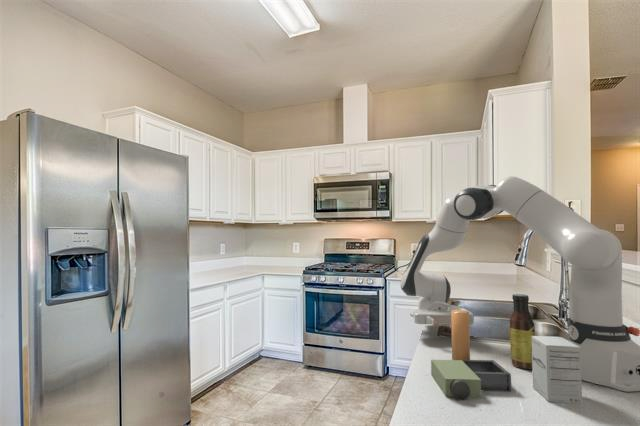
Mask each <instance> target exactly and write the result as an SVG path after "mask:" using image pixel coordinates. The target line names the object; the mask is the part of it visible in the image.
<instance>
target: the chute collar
mask: <svg viewBox="0 0 640 426" xmlns="http://www.w3.org/2000/svg"><path fill="white" fill-rule="evenodd" d="M462 361H463V362H464V363H465V364H466V365H467V366H468V367H469V368H470V369H471V370H472V371H473V372H474V373H475V374H476V375H477V376H478V377H479V378H480V379H481V392H482V391H483V392H484V391H485V392H512V374H511V373H510V372H509V371H508V370H507V369H505V368H504V367H502V365H501V364H499V363H497V361H495V360H493V359H491V360H490V359H470V360H462Z"/></svg>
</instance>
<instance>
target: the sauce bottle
mask: <svg viewBox="0 0 640 426" xmlns="http://www.w3.org/2000/svg"><path fill="white" fill-rule="evenodd" d="M529 297H530V296H529V295H527V294H521V293H513V294H512V301H513V303H512V304H513V312H512V313H511V315H510V316H509V342H510V343H509V345H510V347H509V348H510V359H511V363H512V365H513V366H514V367H516V368H519V369H525V370H532V336H536V330H535V328H536V327H535V323H534V320H533V317H532V314H531V312H530V309H529V299H530V298H529Z"/></svg>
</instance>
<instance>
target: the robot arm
mask: <svg viewBox="0 0 640 426" xmlns="http://www.w3.org/2000/svg"><path fill="white" fill-rule="evenodd" d="M503 212H506V213H507V214H509V215H510V216H511V217H513V218H514V219H516V220H517V221H518V222H519V223H521V224H522V225H524V226H525V227H526V228H528V229H529V230H530V231H532V232H533V233H535V234H536V236H538V237H540V238H541V239H542V240H543V241H544V242H545V243H546V244H547V245H548V246H549V247H551V249H553V251H555V252H556V253H557V254H558V255H560V256H561V257H562V258H563V259H564V260H565V261H567V262H568V263H569V264H570V265H571V271H570V282H569V288H568V294H569V296H568V297H569V299H568V300H569V317H568V319H567V327H568V328H567V331H568V337H569V338H568V339H569V341H570V342H572V343H573V344H575V345H577V346H579V347H580V350H581V381H585V382H588V383H592V384H596V385H600V386H603V387H604V386H605V387H608V388H613V389H615V390H618V391H622V392H625V393H626V392H627V393H628V392H640V345H639V344H637V342H635V341H633V340H632V339H631V338H632V337H631V336H630V335H633V336H635V337H640V328H637V327H635V326H629V327H628V326H627V325H625V324H624V323H623V320H624V319H623V302H622V301H623V300H622V299H623V298H622V293H623V292H622V291H623V290H622V289H623V288H622V285H623V283H622V282H623V249H622V248H623V247H622V244H621V241H620V239H619V238H618V237H617V236H616V235H615V234H614V233H612V232H611V231H608V230H605V229H602V228H601V229H600V228H599V227H597V226H596V225H594V224H593V223H591V222H590V221H589V220H587V219H586V218H584V217H582V216H581V215H580V214H578V213H577V212H575V210H573V209H572V208H570V207H569V206H567V205H566V204H565V203H563V202H561V201H560V200H559V199H557V198H555V197H554V196H552V195H551V194H549V193H548V192H547V191H545V190H543V189H541V188H540V187H538V186H536V185H535V184H533V183H531V182H528V181H526V180H524V179H522V178H520V177H518V176H507V177H505V178H503V179H502V180H500V181H499V182H498V183H497V184H496V185H495V184H489V185H475V186H471V187H467V188H465V189H463V190H461V191H459V192H458V193H457V194H456V196H450V197H448V198H446V199H445V200H444V202H443V204H442V206H441V208H440V210H439V213H438V215H437V219H436V221H435V225H434V226H433V228H432V230H431V231H429V233H427V234H424V235H422V237H421V239H420V241H419V242H418V244H417V247H416V249H415V251H414V252H413V256H412V257H411V260H410V262H409V263H408V266H407V267H406V269H405V270H404V272H403V274H402V276H401V279H400V289H401V291H402V292H403V293H404V294H405V295H406V296H409V297H419V299H418V301H417V309H414V310H413V312H409V316H410V317H413V322H414V324H416V325H432V326H434V327H439V328H440V327H443V326H448V325H450V326H451V311H452V310H464V311H468V312H469V326H472V325H474V324H475V317H474V316H475V315H474V314H473V312H472V311H469V310H468V309H466V308H464V307H463V306H462V305H460V304H455V303H448V302H449V300H450V298H451V284H450V282H449V280H448V278H447V277H446V276H445V275H443V274H437V273H432V272H431V273H429V272H424V271H421V270H422V267H423V265H424V263H425V261H426V259H427V258H428V257H429V256H430V255H433V254H436V253H440V252H446V251H447V252H448V251H451V250H454V249H456V248H458V247H460V246H461V245H462V244H463V242H464V240H465V238H466V236H467V232H468V228H469V225H470V223H471V222H470V221H476V220H479V219H480V220H482V219H488V218H492V217H494V216H497V215H500V214H502V213H503Z"/></svg>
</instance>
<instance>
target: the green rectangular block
mask: <svg viewBox="0 0 640 426" xmlns="http://www.w3.org/2000/svg"><path fill="white" fill-rule="evenodd" d="M430 368H431V369H430V371H431V373H430V374H431V376H432V378H433V380H434V381H435V383H436V384H437V386H438V387H439V389H440V390H441V392H442V393H443V395H444V397H446V398H449V397H450V398H451V397H452V398H455V399H456V400H457V401H464V400H467V399H468V398H478V399H479V398H480V399H481V398H482V391H481V379H480V378H479V377H478V376H477V375H476V374H475V373H474V372H473V371H472V370H471V369H470V368H469V367H468V366H467V365H466V364H465V363H464V362H463V361H462V360H453V359H431V360H430Z"/></svg>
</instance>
